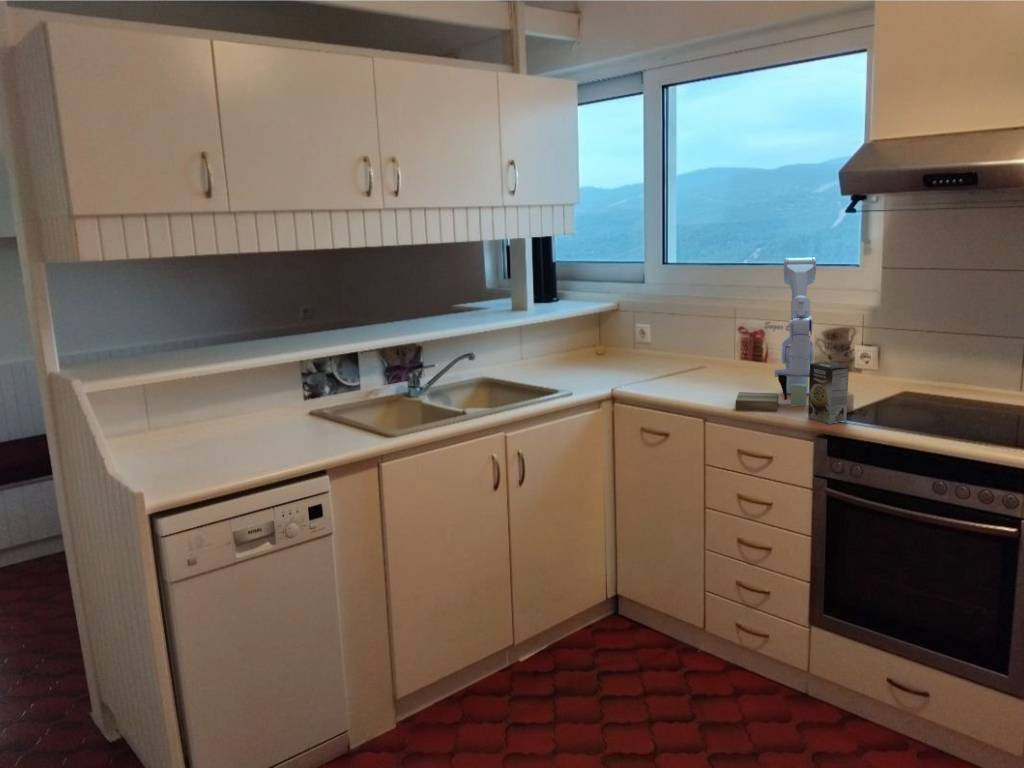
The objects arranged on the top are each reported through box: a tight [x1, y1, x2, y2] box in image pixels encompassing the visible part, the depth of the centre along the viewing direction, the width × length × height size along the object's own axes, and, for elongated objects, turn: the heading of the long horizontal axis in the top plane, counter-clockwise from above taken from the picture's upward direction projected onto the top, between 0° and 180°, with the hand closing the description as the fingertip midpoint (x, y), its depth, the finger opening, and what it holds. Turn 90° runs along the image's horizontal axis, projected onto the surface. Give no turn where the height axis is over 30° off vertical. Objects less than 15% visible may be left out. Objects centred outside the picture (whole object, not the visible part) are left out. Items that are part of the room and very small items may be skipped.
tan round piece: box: [847, 392, 855, 413], centre depth 243 cm, size 5×5×5 cm
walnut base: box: [735, 391, 780, 412], centre depth 253 cm, size 12×12×3 cm
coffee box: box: [807, 361, 850, 425], centre depth 232 cm, size 9×6×16 cm
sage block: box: [790, 384, 808, 407], centre depth 253 cm, size 4×4×6 cm
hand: (798, 399), depth 253 cm, fingers open, 7 cm apart
